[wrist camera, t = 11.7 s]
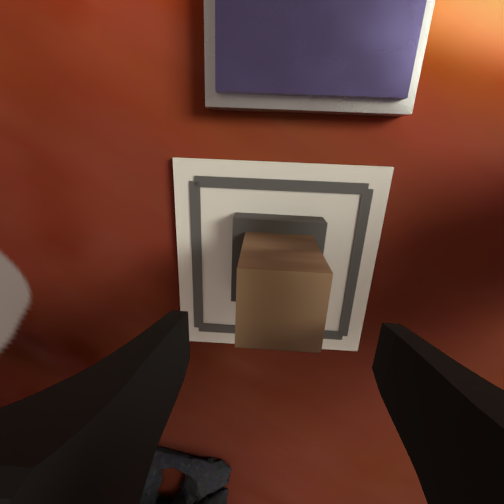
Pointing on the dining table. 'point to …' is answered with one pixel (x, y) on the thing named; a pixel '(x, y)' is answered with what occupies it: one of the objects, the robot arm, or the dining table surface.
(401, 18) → the ink pad
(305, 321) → the stamp
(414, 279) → the dining table surface
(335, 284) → the print card
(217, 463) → the dark slate chunk
